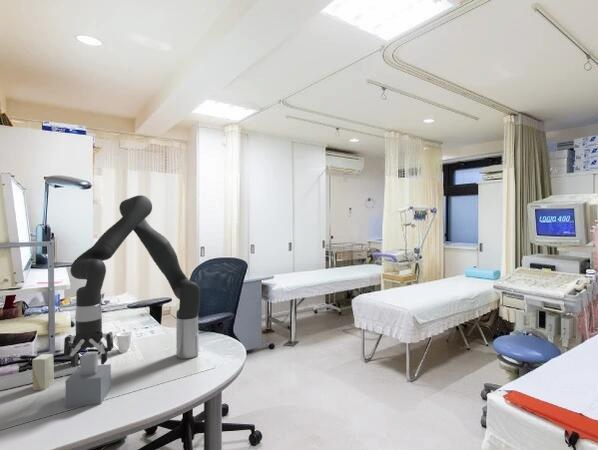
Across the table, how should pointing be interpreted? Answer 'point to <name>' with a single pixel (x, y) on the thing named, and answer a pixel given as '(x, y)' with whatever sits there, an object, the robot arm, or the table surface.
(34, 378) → the box
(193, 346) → the robot arm
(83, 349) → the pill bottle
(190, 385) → the table surface
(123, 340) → the cup
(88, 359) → the grey stepped block
